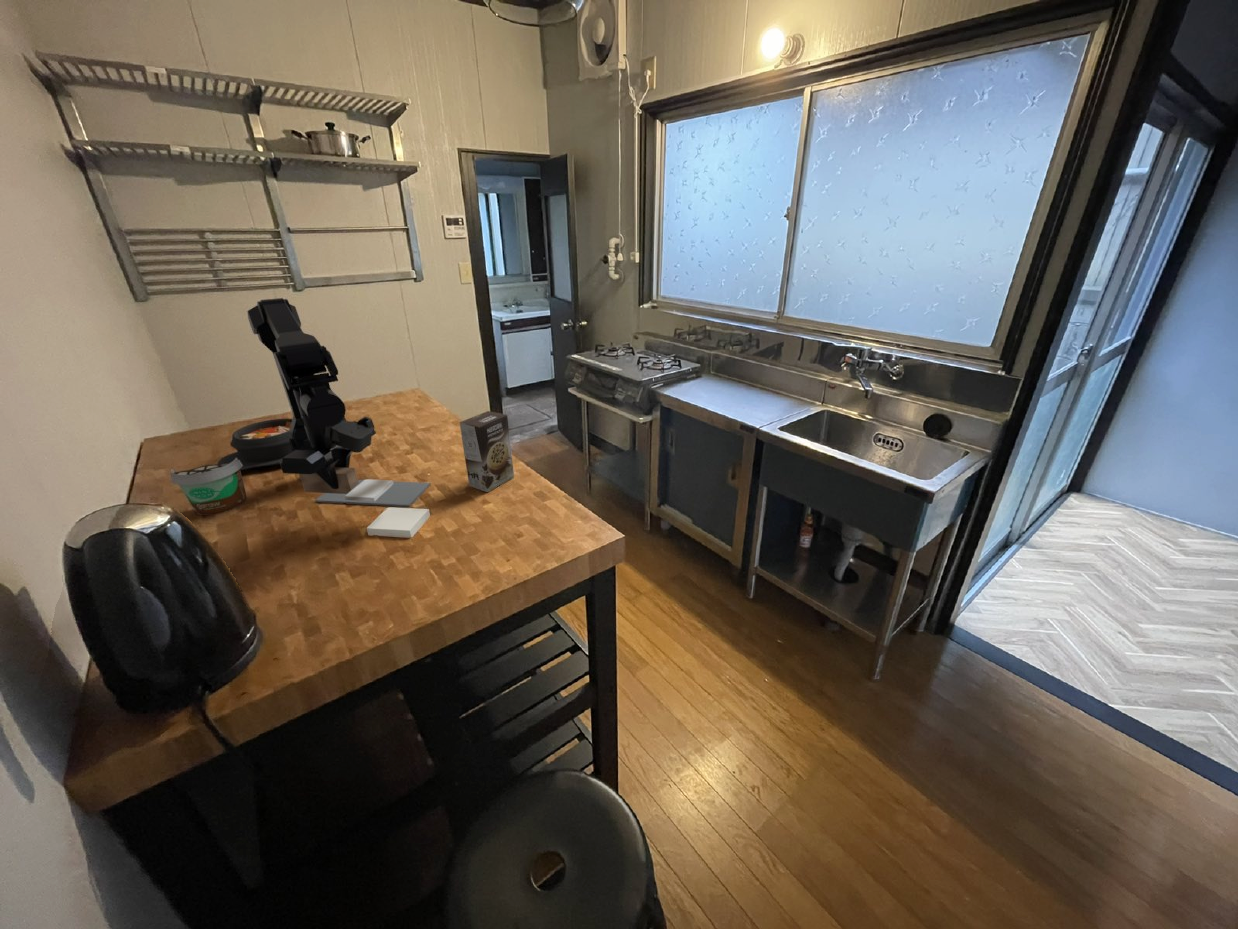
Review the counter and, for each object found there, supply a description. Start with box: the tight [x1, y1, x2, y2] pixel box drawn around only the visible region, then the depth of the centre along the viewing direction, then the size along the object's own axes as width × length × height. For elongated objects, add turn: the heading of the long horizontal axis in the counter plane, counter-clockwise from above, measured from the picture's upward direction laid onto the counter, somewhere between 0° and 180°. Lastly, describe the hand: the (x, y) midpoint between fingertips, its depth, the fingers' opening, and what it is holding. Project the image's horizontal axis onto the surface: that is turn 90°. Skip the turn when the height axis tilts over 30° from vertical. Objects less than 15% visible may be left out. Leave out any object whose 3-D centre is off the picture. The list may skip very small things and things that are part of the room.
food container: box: [170, 458, 248, 516], centre depth 104 cm, size 12×6×10 cm, turn 117°
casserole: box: [217, 418, 293, 471], centre depth 128 cm, size 25×19×8 cm
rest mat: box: [314, 479, 432, 508], centre depth 112 cm, size 22×10×1 cm, turn 84°
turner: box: [298, 467, 394, 501], centre depth 97 cm, size 16×7×4 cm, turn 84°
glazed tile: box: [366, 506, 431, 539], centre depth 100 cm, size 2×8×9 cm
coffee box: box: [459, 410, 515, 493], centre depth 113 cm, size 9×6×16 cm
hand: (340, 485), depth 97 cm, fingers closed on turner, 3 cm apart
